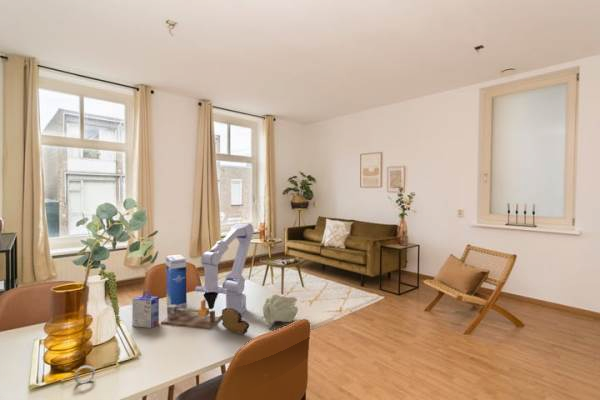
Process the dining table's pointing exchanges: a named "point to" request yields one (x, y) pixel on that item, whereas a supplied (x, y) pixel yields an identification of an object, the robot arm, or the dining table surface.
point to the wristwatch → (85, 380)
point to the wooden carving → (234, 321)
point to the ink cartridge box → (145, 311)
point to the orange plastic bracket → (203, 309)
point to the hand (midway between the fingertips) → (211, 308)
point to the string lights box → (176, 281)
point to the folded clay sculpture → (279, 309)
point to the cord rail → (189, 318)
